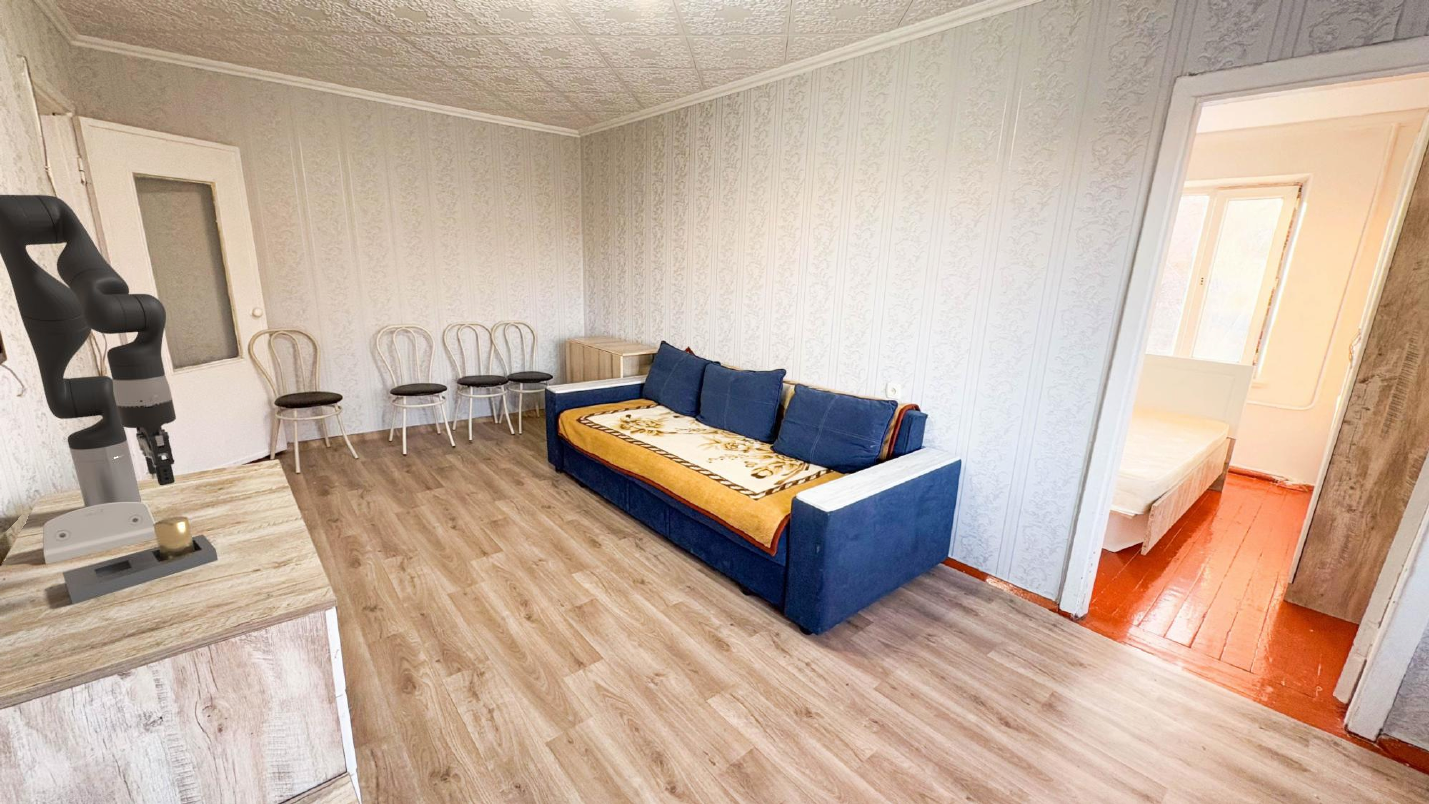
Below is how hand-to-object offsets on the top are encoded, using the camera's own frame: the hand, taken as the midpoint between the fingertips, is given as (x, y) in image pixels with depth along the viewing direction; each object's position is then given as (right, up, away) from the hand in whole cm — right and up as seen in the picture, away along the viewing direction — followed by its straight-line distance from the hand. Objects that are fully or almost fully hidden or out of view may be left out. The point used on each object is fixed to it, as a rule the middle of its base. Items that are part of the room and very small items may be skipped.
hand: (161, 478), depth 108 cm
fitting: (-1, -18, +4) cm, 18 cm away
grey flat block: (-4, -19, 0) cm, 19 cm away
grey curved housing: (-22, -16, +10) cm, 29 cm away
